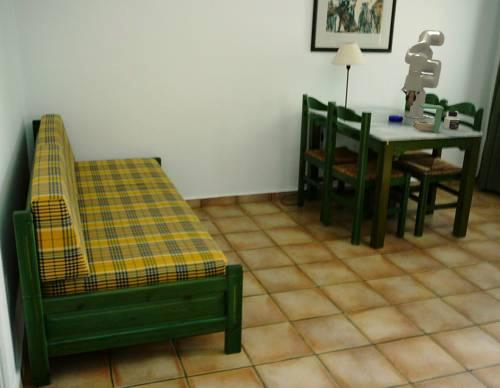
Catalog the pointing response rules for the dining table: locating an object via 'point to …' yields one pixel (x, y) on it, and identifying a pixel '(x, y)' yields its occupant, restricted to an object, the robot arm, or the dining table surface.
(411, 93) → the peg
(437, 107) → the pale green arch
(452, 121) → the medicine bottle
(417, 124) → the tan shallow oval bowl
